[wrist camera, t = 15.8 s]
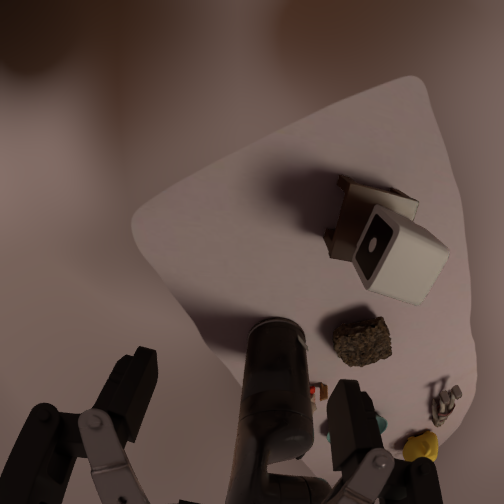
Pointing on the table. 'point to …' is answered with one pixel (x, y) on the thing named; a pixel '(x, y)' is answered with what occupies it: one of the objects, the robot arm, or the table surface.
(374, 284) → the cream rounded block
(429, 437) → the teapot
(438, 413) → the figurine
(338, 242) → the stand
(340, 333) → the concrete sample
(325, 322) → the table surface
